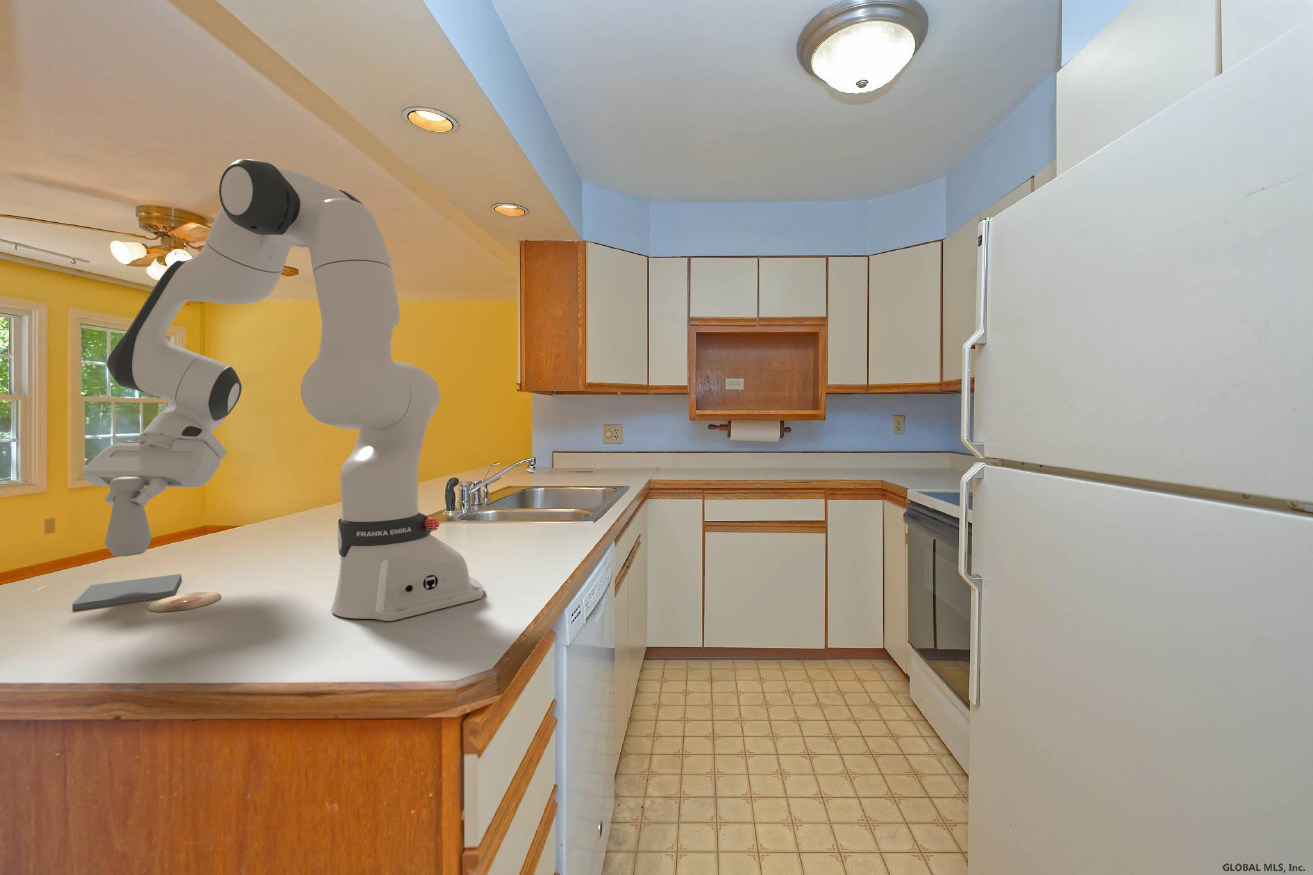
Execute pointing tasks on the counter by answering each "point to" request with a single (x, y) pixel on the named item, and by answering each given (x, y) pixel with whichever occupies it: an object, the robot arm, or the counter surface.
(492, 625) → the counter surface
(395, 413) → the robot arm
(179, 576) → the mat
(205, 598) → the coaster
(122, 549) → the salt shaker
